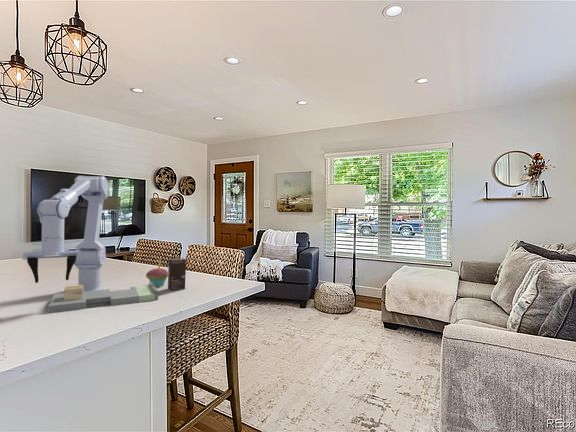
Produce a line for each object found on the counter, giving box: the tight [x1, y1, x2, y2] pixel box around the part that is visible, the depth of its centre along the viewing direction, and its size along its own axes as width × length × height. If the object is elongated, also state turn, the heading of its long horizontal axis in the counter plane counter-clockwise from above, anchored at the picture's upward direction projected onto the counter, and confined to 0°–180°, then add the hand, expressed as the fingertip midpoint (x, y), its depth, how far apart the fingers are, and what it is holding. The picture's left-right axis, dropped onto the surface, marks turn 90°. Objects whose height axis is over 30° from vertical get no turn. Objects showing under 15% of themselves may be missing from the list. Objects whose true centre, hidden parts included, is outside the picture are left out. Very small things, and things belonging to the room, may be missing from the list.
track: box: [47, 281, 159, 313], centre depth 111 cm, size 15×31×3 cm, turn 121°
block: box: [63, 284, 83, 300], centre depth 106 cm, size 5×5×4 cm
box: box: [167, 257, 187, 291], centre depth 128 cm, size 6×4×12 cm
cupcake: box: [145, 257, 168, 288], centre depth 133 cm, size 9×8×12 cm
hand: (52, 280), depth 101 cm, fingers open, 7 cm apart
